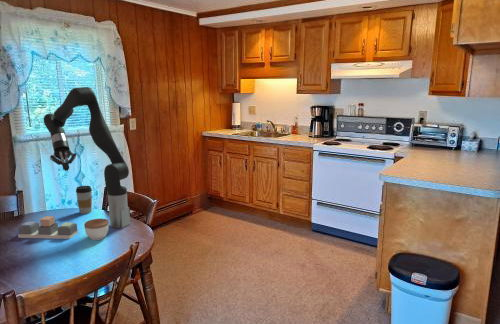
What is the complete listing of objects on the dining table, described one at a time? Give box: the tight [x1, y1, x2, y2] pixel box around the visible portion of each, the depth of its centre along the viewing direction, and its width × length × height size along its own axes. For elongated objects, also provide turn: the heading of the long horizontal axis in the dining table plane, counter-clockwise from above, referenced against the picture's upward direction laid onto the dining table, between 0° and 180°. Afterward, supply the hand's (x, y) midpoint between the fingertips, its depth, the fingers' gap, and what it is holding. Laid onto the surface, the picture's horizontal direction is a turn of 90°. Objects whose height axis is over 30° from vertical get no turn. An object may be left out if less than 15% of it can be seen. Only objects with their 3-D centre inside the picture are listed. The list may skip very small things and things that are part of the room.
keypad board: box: [17, 222, 79, 240], centre depth 172 cm, size 25×8×5 cm, turn 88°
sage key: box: [59, 222, 75, 228], centre depth 171 cm, size 4×4×4 cm
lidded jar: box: [84, 218, 110, 241], centre depth 169 cm, size 11×11×9 cm
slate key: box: [20, 221, 37, 227], centre depth 172 cm, size 4×4×4 cm
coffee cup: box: [75, 185, 93, 215], centre depth 204 cm, size 8×8×15 cm
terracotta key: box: [39, 215, 56, 227], centre depth 171 cm, size 4×4×4 cm
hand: (66, 169), depth 184 cm, fingers closed
